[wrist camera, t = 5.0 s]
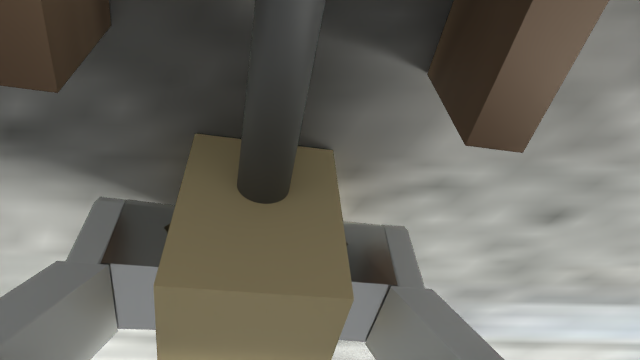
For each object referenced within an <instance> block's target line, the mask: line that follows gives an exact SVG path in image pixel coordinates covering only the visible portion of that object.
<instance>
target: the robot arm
mask: <svg viewBox="0 0 640 360" xmlns="http://www.w3.org/2000/svg"><path fill="white" fill-rule="evenodd" d="M174 209H175V205H169V204H161V203H153V202H145V201H136V200H122V199H115V198H107V197H99V198H98V199H97V200H96V201H95V202H94V204H93V206H92V208H91V210H90V212H89V214H88V216H87V218H86V220H85V223H84V225H83V227H82V229H81V231H80V233H79V235H78V237H77V239H76V241H75V243H74V245H73V247H72V249H71V251H70V253H69V255H68V258H67V260H66V261H56V262H54V263H53V264H51V265H50V266H48V267H47V268H45V269H44V270H42V271H40V272H39V273H37V274H36V275H34V276H33V277H31V278H30V279H28V280H27V281H25V282H24V283H22V284H20V285H19V286H17V287H16V288H14V289H13V290H11V291H10V292H8V293H7V294H5V295H3V296H2V297H0V360H90V359H91V358H92V357H93V356H94V355H95V354H96V353H97V352H98V351H99V350H100V349H101V348H102V347H103V346H104V345H105V344H106V343H107V342H108V341H109V340H110V339H111V338H112V337H113V336H114V335H115V334H116V333H117V332H118V330H117V329H149V330H156V323H155V305H154V287H153V286H154V282H155V278H156V275H157V271H158V267H159V264H160V260H161V256H162V253H163V249H164V245H165V242H166V238H167V234H168V231H169V227H170V223H171V220H172V216H173V213H174ZM343 225H344V232H345V239H346V246H347V253H348V260H349V267H350V274H351V281H352V289H353V296H354V301H353V303H352V306H351V309H350V311H349V314H348V317H347V319H346V322H345V324H344V327H343V330H342V332H341V335H340V338H339V340H348V341H360V342H366V343H365V344H366V346H367V347H368V349H369V350H370V352H371V353H372V355H373V356H374V358H375V359H376V360H504V359H503V358H502V357H501V356H500V355H499V354H498V353H497V352H496V351H495V350H494V349H493V348H492V347H491V346H490V345H489V344H488V343H487V342H486V341H485V340H484V339H483V338H482V337H481V336H480V335H478V334H477V333H476V332H475V331H474V330H473V329H472V328H471V327H470V326H469V325H468V324H467V323H466V322H465V321H464V320H463V319H462V318H461V317H460V316H459V315H458V314H457V313H456V312H455V311H454V310H453V309H452V308H451V307H450V306H449V305H448V304H447V303H446V302H445V301H444V300H443V299H442V298H441V297H440V296H439V295H437V294H436V293H435V292H434V291H433V290H432V289H425V286H424V283H423V280H422V276H421V273H420V270H419V266H418V263H417V260H416V256H415V253H414V250H413V246H412V243H411V240H410V236H409V233H408V230H407V229H406V228H405V227H404V226H392V225H378V224H366V223H355V222H344V221H343Z"/></svg>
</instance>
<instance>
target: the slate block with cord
mask: <svg viewBox="0 0 640 360" xmlns="http://www.w3.org/2000/svg"><path fill="white" fill-rule="evenodd" d="M325 2H326V0H255V10H254V20H253V30H252V40H251V50H250V60H249V70H248V79H247V89H246V99H245V109H244V119H243V129H242V139H236V138H228V137H220V136H211V135H203V134H195V136H194V139H193V143H192V147H191V150H190V154H189V158H188V161H187V165H186V169H185V172H184V176H183V180H182V183H181V187H180V191H179V194H178V198H177V202H176V205H175V209H174V213H173V216H172V220H171V223H170V227H169V231H168V234H167V238H166V242H165V245H164V249H163V253H162V256H161V260H160V264H159V267H158V271H157V275H156V278H155V282H154V286H153V287H154V305H155V323H156V342H157V360H331V359H332V356H333V353H334V351H335V348H336V345H337V343H338V340H339V338H340V335H341V332H342V330H343V327H344V324H345V322H346V319H347V317H348V314H349V311H350V309H351V306H352V303H353V301H354V296H353V289H352V281H351V274H350V267H349V260H348V253H347V246H346V239H345V232H344V225H343V218H342V210H341V203H340V196H339V189H338V182H337V175H336V168H335V161H334V154H333V150H326V149H318V148H310V147H302V146H298V141H299V136H300V131H301V126H302V121H303V116H304V110H305V105H306V100H307V95H308V90H309V84H310V79H311V74H312V69H313V64H314V59H315V53H316V48H317V43H318V38H319V33H320V28H321V22H322V17H323V12H324V7H325Z"/></svg>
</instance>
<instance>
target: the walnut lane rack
mask: <svg viewBox="0 0 640 360" xmlns="http://www.w3.org/2000/svg"><path fill="white" fill-rule="evenodd" d="M608 1H609V0H454V1H453V4H452V7H451V10H450V13H449V15H448V18H447V21H446V24H445V26H444V29H443V32H442V35H441V37H440V40H439V43H438V46H437V49H436V51H435V54H434V57H433V60H432V62H431V65H430V68H429V71H428V73H427V75H428V76H429V78H430V80H431V82H432V84H433V86H434V88H435V90H436V91H437V93H438V95H439V97H440V99H441V101H442V103H443V105H444V106H445V108H446V110H447V112H448V114H449V116H450V118H451V120H452V121H453V123H454V125H455V127H456V129H457V131H458V133H459V135H460V136H461V138H462V140H463V142H464V144H465V145H466V146H473V147H481V148H489V149H497V150H504V151H512V152H520V153H523V152H524V150H525V148H526V146H527V145H528V143H529V141H530V139H531V137H532V136H533V134H534V132H535V130H536V129H537V127H538V125H539V123H540V122H541V120H542V118H543V116H544V115H545V113H546V111H547V109H548V107H549V106H550V104H551V102H552V100H553V99H554V97H555V95H556V93H557V92H558V90H559V88H560V86H561V84H562V83H563V81H564V79H565V77H566V76H567V74H568V72H569V70H570V69H571V67H572V65H573V63H574V62H575V60H576V58H577V56H578V54H579V53H580V51H581V49H582V47H583V46H584V44H585V42H586V40H587V39H588V37H589V35H590V33H591V31H592V30H593V28H594V26H595V24H596V23H597V21H598V19H599V17H600V16H601V14H602V12H603V10H604V9H605V7H606V5H607V3H608ZM110 26H111V17H110V7H109V0H0V85H1V86H8V87H16V88H24V89H32V90H39V91H47V92H55V93H58V92H59V91H60V90H61V88H62V87H63V86H64V84H65V83H66V82H67V81H68V79H69V78H70V77H71V76H72V74H73V73H74V72H75V71H76V69H77V68H78V67H79V66H80V64H81V63H82V62H83V61H84V59H85V58H86V57H87V55H88V54H89V53H90V52H91V50H92V49H93V48H94V47H95V45H96V44H97V43H98V42H99V40H100V39H101V38H102V37H103V35H104V34H105V33H106V31H107V30H108V29H109V28H110Z"/></svg>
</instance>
